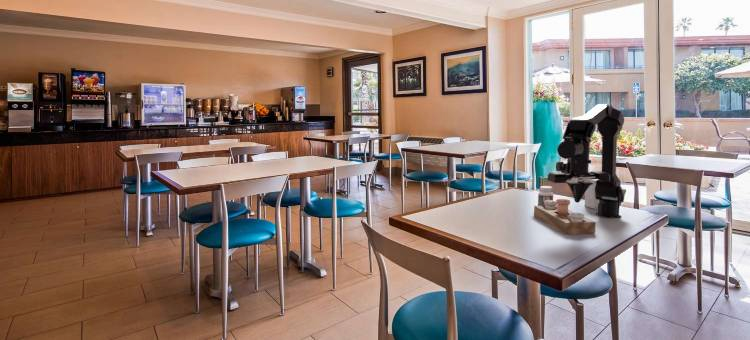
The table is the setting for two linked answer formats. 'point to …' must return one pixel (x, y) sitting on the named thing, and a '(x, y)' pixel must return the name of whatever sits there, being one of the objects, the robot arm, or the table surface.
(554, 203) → the grey plug
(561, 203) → the terracotta plug middle
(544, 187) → the pill bottle
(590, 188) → the skincare box
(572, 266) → the table surface
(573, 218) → the grey plug
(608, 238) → the table surface
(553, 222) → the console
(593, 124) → the robot arm
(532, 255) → the table surface
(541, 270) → the table surface
